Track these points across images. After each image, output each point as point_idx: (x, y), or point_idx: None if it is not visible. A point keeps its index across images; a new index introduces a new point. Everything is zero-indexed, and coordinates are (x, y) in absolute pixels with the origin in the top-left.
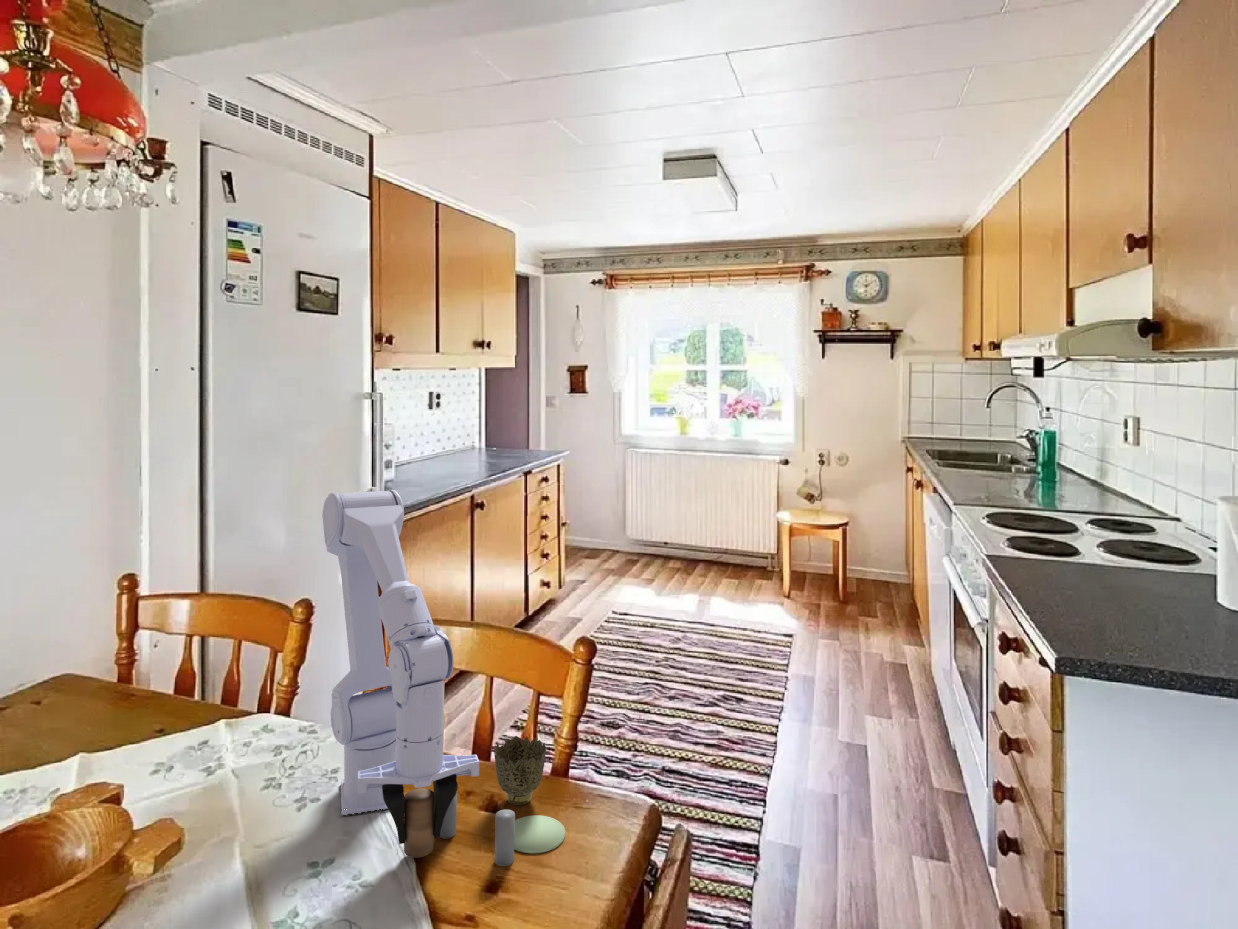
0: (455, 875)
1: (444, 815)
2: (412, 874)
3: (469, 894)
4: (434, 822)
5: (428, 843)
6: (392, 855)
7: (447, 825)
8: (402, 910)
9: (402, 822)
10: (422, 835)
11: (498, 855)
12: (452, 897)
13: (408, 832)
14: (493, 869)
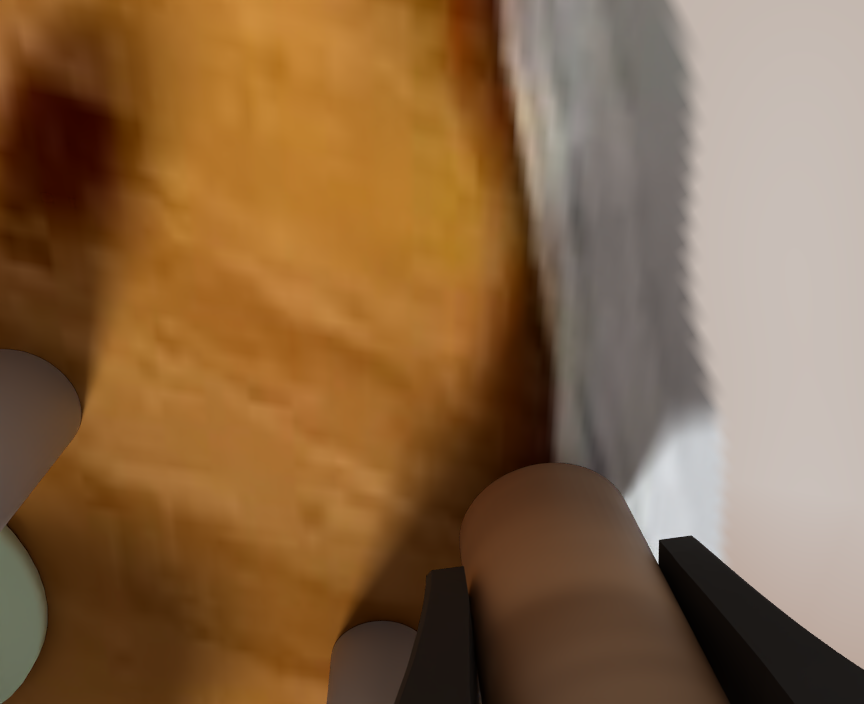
0: (323, 315)
1: (401, 700)
2: (578, 366)
3: (220, 103)
4: (474, 667)
5: (502, 529)
6: (670, 533)
7: (376, 686)
8: (668, 23)
9: (769, 650)
10: (561, 562)
11: (19, 396)
12: (336, 94)
13: (666, 593)
14: (79, 332)
